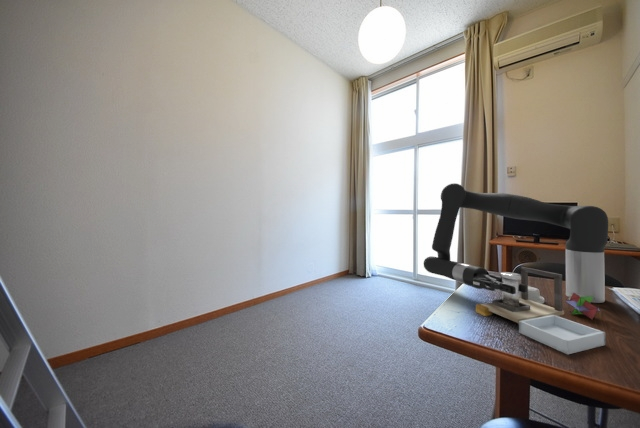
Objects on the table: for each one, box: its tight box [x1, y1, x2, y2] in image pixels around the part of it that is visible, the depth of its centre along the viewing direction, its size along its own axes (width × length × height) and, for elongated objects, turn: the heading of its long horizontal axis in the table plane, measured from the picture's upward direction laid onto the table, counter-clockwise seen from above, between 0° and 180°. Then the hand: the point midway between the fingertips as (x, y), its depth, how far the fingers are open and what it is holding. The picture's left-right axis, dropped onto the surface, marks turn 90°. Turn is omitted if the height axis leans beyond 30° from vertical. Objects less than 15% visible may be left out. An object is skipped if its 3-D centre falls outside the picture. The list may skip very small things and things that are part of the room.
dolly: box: [475, 266, 565, 325], centre depth 71 cm, size 20×12×13 cm, turn 105°
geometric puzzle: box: [564, 292, 602, 320], centre depth 70 cm, size 7×7×8 cm
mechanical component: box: [519, 285, 545, 305], centre depth 84 cm, size 10×4×10 cm
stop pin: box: [499, 271, 521, 308], centre depth 72 cm, size 5×5×10 cm
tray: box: [518, 315, 606, 355], centre depth 58 cm, size 13×10×3 cm
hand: (520, 289), depth 69 cm, fingers closed on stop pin, 4 cm apart
